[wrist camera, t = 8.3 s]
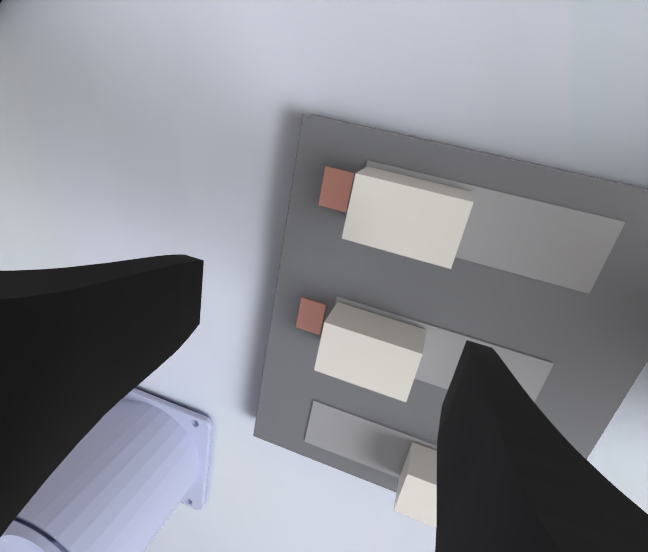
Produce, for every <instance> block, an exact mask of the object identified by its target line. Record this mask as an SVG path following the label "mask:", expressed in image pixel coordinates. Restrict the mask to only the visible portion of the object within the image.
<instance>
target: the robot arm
mask: <svg viewBox="0 0 648 552" xmlns="http://www.w3.org/2000/svg"><path fill="white" fill-rule="evenodd" d="M203 263H204V260H200V259H197V258H194V257H190V256H187V255H164V256H155V257H147V258H140V259H133V260H125V261H118V262H111V263H103V264H94V265H85V266H76V267H67V268H56V269H41V270H18V271H0V552H145V550H146V549H147V547H148V546H149V545H150V543H151V542H152V541H153V539H154V538H155V536H156V535H157V534H158V532H159V531H160V529H161V528H162V527H163V525H164V524H165V522H166V521H167V520H168V518H169V517H170V516H171V514H172V513H173V511H174V510H175V509H176V507H177V506H178V504H179V503H180V502H181V503H183V504H185V505H187V506H190V507H192V508H194V509H197V510H199V509H202V507H203V506H204V504H205V497H206V487H207V477H208V467H209V457H210V446H211V436H212V426H213V425H212V421H211V420H210V419H209V418H208V417H206V416H204V415H201V414H199V413H196V412H194V411H191V410H189V409H186V408H183V407H181V406H178V405H176V404H173V403H171V402H168V401H166V400H163V399H161V398H158V397H156V396H153V395H151V394H148V393H146V392H143V391H140V390H138V389H135V387H136V386H137V385H139V384H140V383H141V382H142V381H143V380H144V379H145V378H147V377H148V376H149V375H150V374H151V373H152V372H153V371H155V370H156V369H157V368H158V367H159V366H160V365H161V364H163V363H164V362H165V361H166V360H167V359H168V358H169V357H170V356H172V355H173V354H174V353H175V352H176V351H177V350H178V349H179V348H180V347H181V346H182V344H183V343H184V342H185V341H186V340H187V339H188V338H189V336H190V335H191V334H192V333H193V331H194V330H195V329H196V328H197V326H198V325H199V324H200V309H201V294H202V278H203ZM435 552H648V514H647V513H645V512H644V511H643V510H642V509H641V508H640V507H638V506H637V505H636V504H635V503H634V502H632V501H631V500H630V499H629V498H628V497H627V496H625V495H624V494H623V493H622V492H621V491H619V490H618V489H617V488H616V487H615V486H614V485H613V484H612V483H611V482H609V481H608V480H607V479H606V478H605V477H604V476H603V475H602V474H601V473H600V472H599V471H598V470H597V469H596V468H595V467H594V466H592V465H591V464H590V463H589V462H588V461H587V460H586V459H585V458H584V457H583V456H582V455H581V454H580V453H579V452H578V451H577V450H576V449H575V448H574V447H573V446H572V445H571V444H570V443H569V442H568V441H567V439H566V438H565V437H564V436H563V435H562V434H561V433H560V432H559V431H558V430H557V428H556V427H555V426H554V425H553V424H552V423H551V422H550V420H549V419H548V418H547V417H546V416H545V415H544V414H543V412H542V411H541V410H540V409H539V408H538V406H537V405H536V404H535V403H534V401H533V400H532V399H531V398H530V396H529V395H528V394H527V392H526V391H525V390H524V389H523V387H522V386H521V385H520V383H519V382H518V381H517V379H516V378H515V377H514V375H513V374H512V373H511V371H510V370H509V369H508V367H507V366H506V364H505V363H504V362H503V360H502V359H501V358H500V356H499V355H498V354H497V353H496V351H495V350H494V349H493V348H492V347H488V346H485V345H482V344H478V343H475V342H472V341H468V340H466V343H465V346H464V348H463V351H462V354H461V356H460V359H459V362H458V364H457V367H456V370H455V372H454V375H453V378H452V380H451V383H450V386H449V388H448V391H447V394H446V396H445V399H444V401H443V404H442V409H441V415H440V422H439V429H438V437H437V527H436V550H435Z"/></svg>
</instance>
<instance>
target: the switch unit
mask: <svg viewBox="0 0 648 552" xmlns="http://www.w3.org/2000/svg"><path fill="white" fill-rule="evenodd" d="M367 166H368V167H372V168H376V169H380V170H385V171H389V172H393V173H397V174H401V175H405V176H409V177H414V178H418V179H422V180H426V181H430V182H434V183H438V184H443V185H447V186H451V187H455V188H459V189H463V190H467V191H472V193H473V200H474V203H473V206H472V209H471V212H470V215H469V218H468V221H467V223H466V226H465V229H464V232H463V235H462V238H461V241H460V244H459V247H458V250H457V253H456V256H455V259H454V262H453V264H452V267H451V269H449V268H445V267H442V266H438V265H434V264H431V263H427V262H424V261H420V260H417V259H413V258H410V257H406V256H402V255H399V254H395V253H392V252H388V251H385V250H381V249H377V248H374V247H370V246H367V245H363V244H360V243H356V242H352V241H349V240H345V239H342V234H343V230H344V225H345V220H346V216H347V211H348V207H349V202H350V197H351V193H352V188H353V183H354V179H355V174H356V173H357V172H359V171H360V170H362V169H364V168H365V167H367ZM337 302H339V303H342V304H345V305H349V306H352V307H355V308H358V309H361V310H365V311H368V312H371V313H374V314H377V315H381V316H384V317H387V318H390V319H393V320H397V321H400V322H403V323H406V324H409V325H413V326H416V327H419V328H422V329H426V337H425V343H424V349H423V355H422V358H421V361H420V364H419V366H418V369H417V372H416V375H415V378H414V381H413V384H412V387H411V390H410V393H409V396H408V399H407V401H406V402H403V401H400V400H398V399H395V398H392V397H389V396H386V395H383V394H380V393H378V392H375V391H372V390H369V389H366V388H363V387H360V386H358V385H355V384H352V383H349V382H346V381H343V380H340V379H338V378H335V377H332V376H329V375H326V374H323V373H321V372H318V371H315V370H314V368H315V363H316V359H317V354H318V349H319V345H320V340H321V335H322V331H323V326H324V322H325V320H326V319H327V317H328V316H329V314H330V313H331V311H332V310H333V308H334V307H335V305H336V304H337ZM466 340H468V341H472V342H475V343H478V344H482V345H485V346H488V347H492V348H493V349H494V350H495V351H496V353H497V354H498V355H499V356H500V358H501V359H502V360H503V362H504V363H505V364H506V366H507V367H508V369H509V370H510V371H511V373H512V374H513V375H514V377H515V378H516V379H517V381H518V382H519V383H520V385H521V386H522V387H523V389H524V390H525V391H526V392H527V394H528V395H529V396H530V398H531V399H532V400H533V401H534V403H535V404H536V405H537V406H538V408H539V409H540V410H541V411H542V412H543V414H544V415H545V416H546V417H547V418H548V419H549V420H550V422H551V423H552V424H553V425H554V426H555V427H556V428H557V430H558V431H559V432H560V433H561V434H562V435H563V436H564V437H565V438H566V439H567V441H568V442H569V443H570V444H571V445H572V446H573V447H574V448H575V449H576V450H577V451H578V452H579V453H580V454H581V455H582V456H583V457H584V458H585V459H587V458H588V456H589V454H590V453H591V451H592V450H593V448H594V446H595V445H596V443H597V441H598V440H599V438H600V437H601V435H602V433H603V432H604V430H605V429H606V427H607V425H608V424H609V422H610V420H611V419H612V417H613V416H614V414H615V412H616V411H617V409H618V407H619V406H620V404H621V403H622V401H623V399H624V398H625V396H626V395H627V393H628V391H629V390H630V388H631V386H632V385H633V383H634V382H635V380H636V378H637V377H638V375H639V373H640V372H641V370H642V369H643V367H644V365H645V364H646V362H647V361H648V189H646V188H641V187H637V186H632V185H628V184H623V183H619V182H614V181H610V180H605V179H601V178H596V177H592V176H587V175H583V174H578V173H574V172H569V171H565V170H560V169H556V168H551V167H547V166H542V165H538V164H533V163H529V162H524V161H520V160H515V159H511V158H506V157H502V156H497V155H493V154H488V153H484V152H479V151H475V150H470V149H466V148H461V147H457V146H452V145H448V144H443V143H439V142H434V141H430V140H425V139H421V138H416V137H412V136H407V135H403V134H398V133H394V132H389V131H385V130H380V129H376V128H371V127H367V126H362V125H358V124H353V123H349V122H344V121H340V120H335V119H331V118H326V117H322V116H317V115H303V117H302V124H301V130H300V137H299V143H298V149H297V156H296V162H295V169H294V175H293V182H292V188H291V195H290V201H289V208H288V214H287V221H286V227H285V234H284V240H283V247H282V253H281V260H280V266H279V273H278V279H277V286H276V292H275V299H274V305H273V311H272V318H271V324H270V331H269V337H268V344H267V350H266V357H265V363H264V370H263V376H262V383H261V389H260V396H259V402H258V409H257V415H256V422H255V428H254V435H253V436H255V437H258V438H260V439H263V440H265V441H268V442H270V443H273V444H275V445H278V446H280V447H283V448H285V449H288V450H290V451H293V452H295V453H298V454H301V455H303V456H306V457H308V458H311V459H313V460H316V461H318V462H321V463H323V464H326V465H328V466H331V467H333V468H336V469H338V470H341V471H344V472H346V473H349V474H351V475H354V476H356V477H359V478H361V479H364V480H366V481H369V482H371V483H374V484H376V485H379V486H381V487H384V488H386V489H389V490H392V491H394V492H397V488H398V482H399V477H400V474H401V471H402V468H403V466H404V463H405V460H406V458H407V455H408V452H409V449H410V447H411V444H412V442H414V443H417V444H419V445H422V446H425V447H428V448H430V449H433V450H436V451H437V437H438V429H439V422H440V415H441V409H442V404H443V401H444V399H445V396H446V394H447V391H448V388H449V386H450V383H451V380H452V378H453V375H454V372H455V370H456V367H457V364H458V362H459V359H460V356H461V354H462V351H463V348H464V346H465V343H466Z"/></svg>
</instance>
